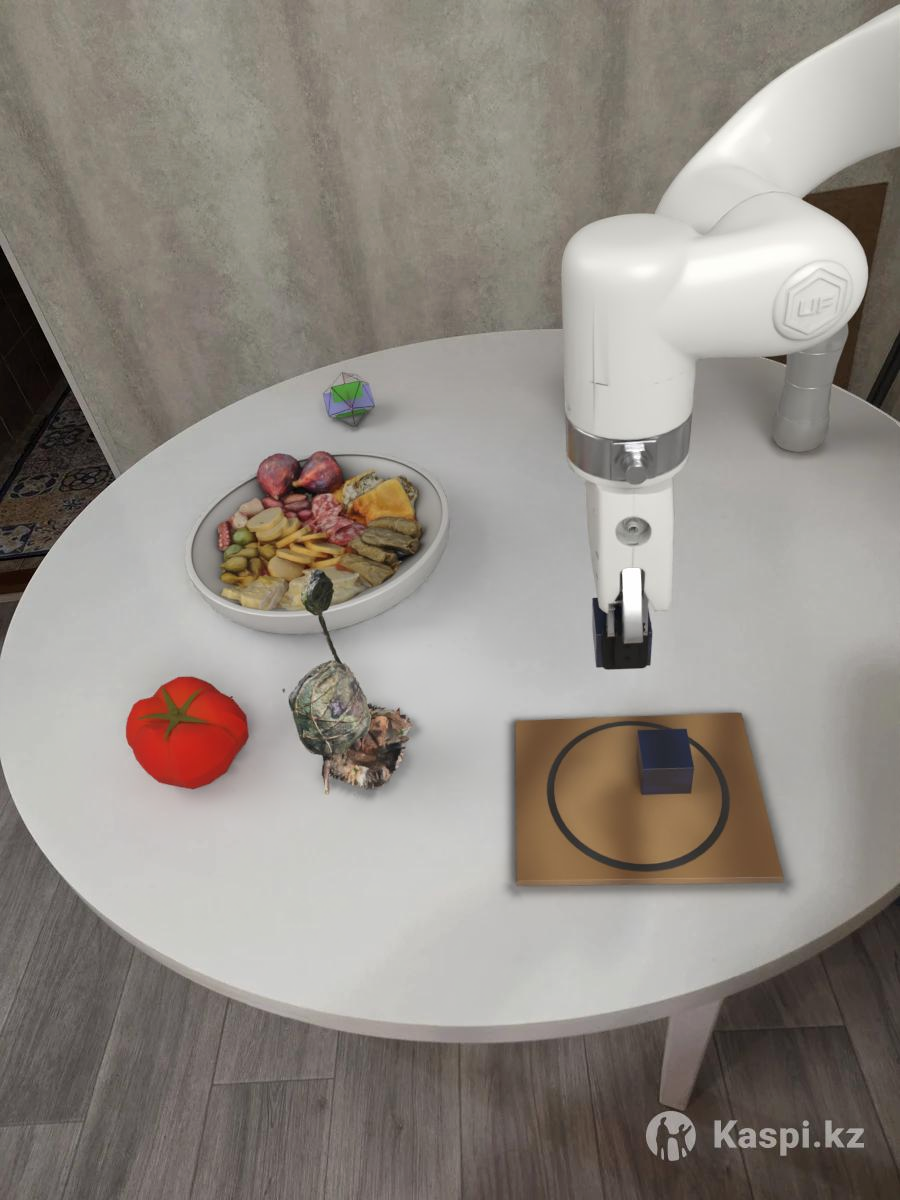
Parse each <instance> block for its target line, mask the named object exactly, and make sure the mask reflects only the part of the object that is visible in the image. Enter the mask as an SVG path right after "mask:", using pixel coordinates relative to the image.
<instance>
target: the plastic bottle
mask: <svg viewBox="0 0 900 1200" xmlns="http://www.w3.org/2000/svg"><path fill="white" fill-rule="evenodd" d="M848 336H849V324H848V322H847V323H846V324H845V325H844V326H843V327H842V328H841V329H840V330H839V331H838V332H837V333H835V334H834V335H833V336H831V337H830V338H828V339H826V340H825V341H823V342H821V343H820V344H817V345H815V346H813V347H811V348H808V349H805V350H802V351H799V352H795V353H791V354H786V363H785V365H786V366H785V376H784V383H783V387H782V392H781V396H780V399H779V403H778V406H777V408H776V410H775V412H774V416H773V419H772V423H771V436H772V438H773V440H774V442H775V444H776V445H777V446H778V447H780V448H781V449H784V450H786V451H790V452H793V453H794V452H795V453H802V452H808V451H812V450H815V449H817V448H818V447H819V446H820V445H821V444H822V443H823V442H824V441H825V439H826V437H827V434H828V431H829V429H830V419H831V416H830V403H831V396H832V387H833V382H834V378H835V376H836V371H837V367H838V364H839V361H840V358H841V356H842V353H843V350H844V348H845V344H846V342H847V340H848Z"/></svg>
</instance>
